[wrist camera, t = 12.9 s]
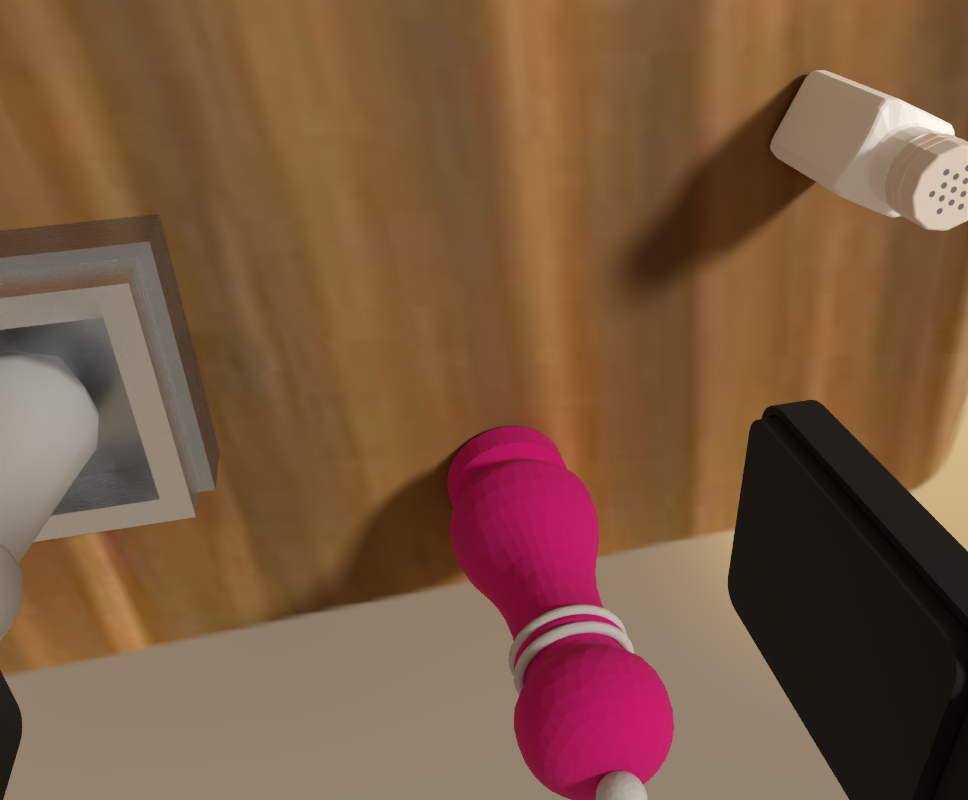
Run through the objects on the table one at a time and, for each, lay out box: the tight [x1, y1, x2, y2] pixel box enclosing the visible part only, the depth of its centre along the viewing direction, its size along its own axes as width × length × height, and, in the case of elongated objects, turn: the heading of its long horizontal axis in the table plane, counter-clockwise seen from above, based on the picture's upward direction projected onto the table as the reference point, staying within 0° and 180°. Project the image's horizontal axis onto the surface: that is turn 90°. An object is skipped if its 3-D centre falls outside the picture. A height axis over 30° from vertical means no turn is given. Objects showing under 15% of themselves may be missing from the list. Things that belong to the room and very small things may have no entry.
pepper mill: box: [447, 426, 674, 800], centre depth 38 cm, size 7×7×20 cm
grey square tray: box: [0, 215, 219, 542], centre depth 36 cm, size 12×13×6 cm
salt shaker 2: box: [770, 70, 968, 231], centre depth 35 cm, size 4×4×10 cm
